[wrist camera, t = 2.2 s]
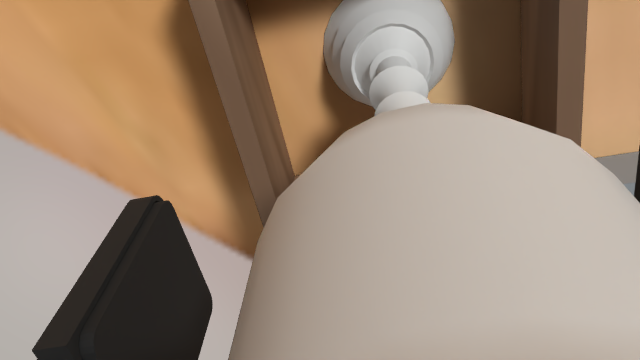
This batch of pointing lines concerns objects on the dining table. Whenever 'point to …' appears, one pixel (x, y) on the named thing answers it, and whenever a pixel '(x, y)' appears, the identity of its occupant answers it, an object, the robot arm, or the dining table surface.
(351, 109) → the dining table surface
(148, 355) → the robot arm
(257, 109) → the brown square frame
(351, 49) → the chalice
